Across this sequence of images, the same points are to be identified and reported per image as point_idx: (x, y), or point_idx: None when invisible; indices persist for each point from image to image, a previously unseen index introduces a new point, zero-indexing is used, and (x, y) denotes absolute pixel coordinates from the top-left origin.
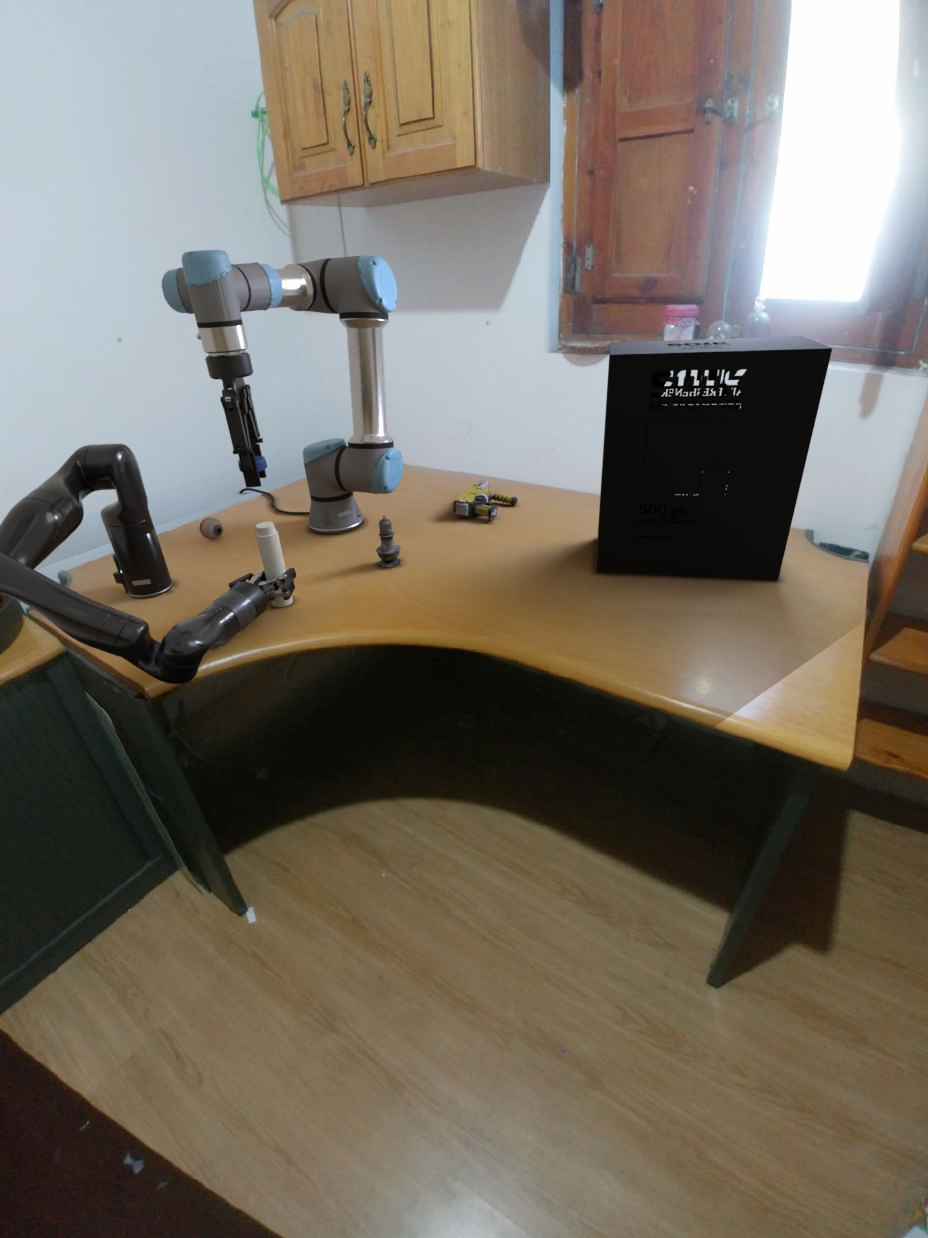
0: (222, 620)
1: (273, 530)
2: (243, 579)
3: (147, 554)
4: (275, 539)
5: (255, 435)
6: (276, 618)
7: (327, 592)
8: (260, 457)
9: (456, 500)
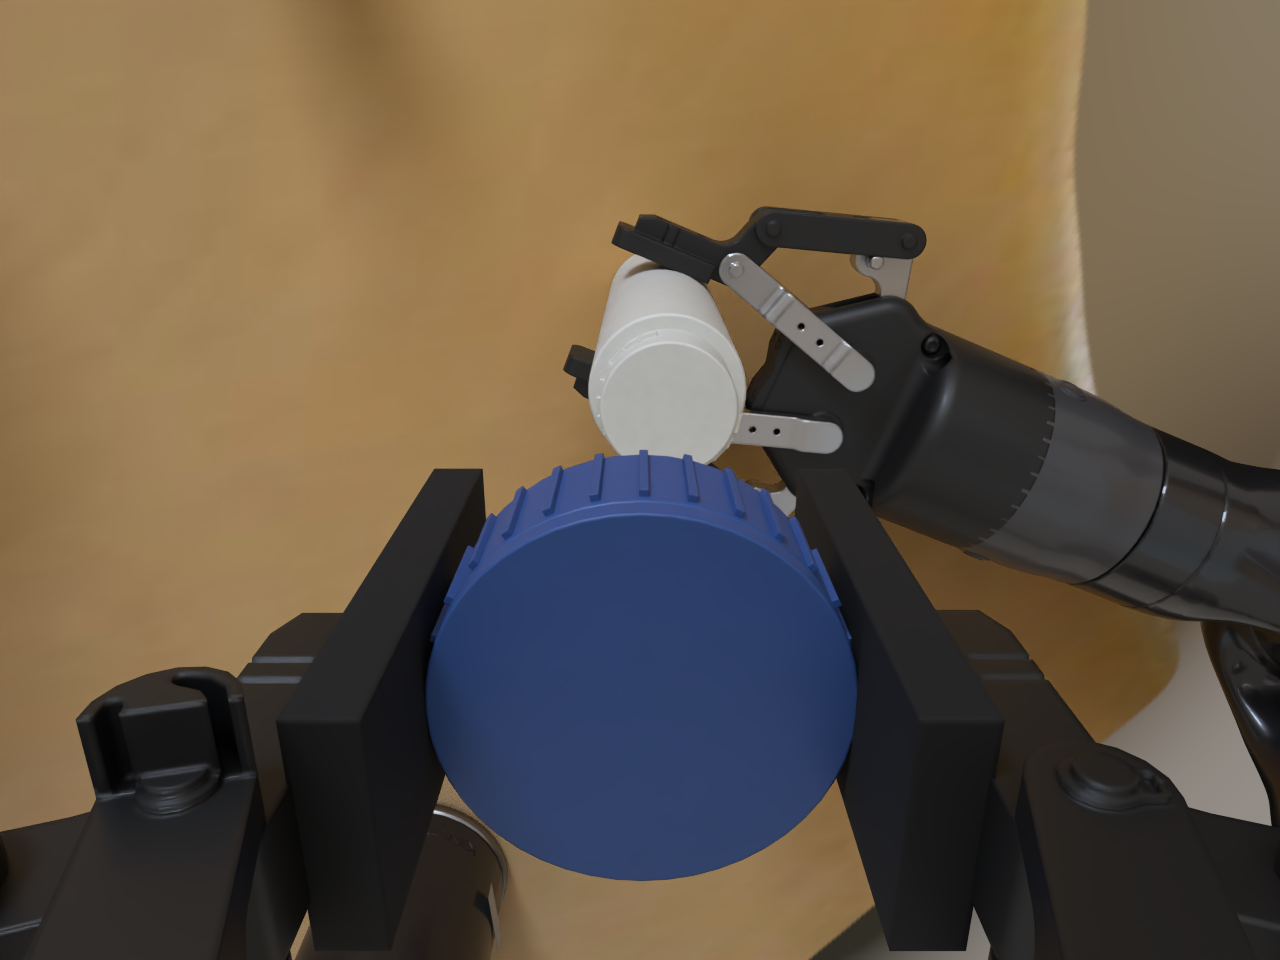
0: (1237, 488)
1: (693, 338)
2: None
3: None
4: (713, 320)
5: (234, 897)
6: (814, 303)
7: (587, 63)
8: (577, 588)
9: None
